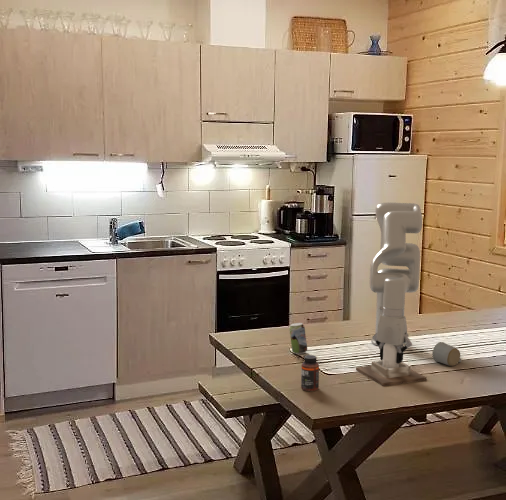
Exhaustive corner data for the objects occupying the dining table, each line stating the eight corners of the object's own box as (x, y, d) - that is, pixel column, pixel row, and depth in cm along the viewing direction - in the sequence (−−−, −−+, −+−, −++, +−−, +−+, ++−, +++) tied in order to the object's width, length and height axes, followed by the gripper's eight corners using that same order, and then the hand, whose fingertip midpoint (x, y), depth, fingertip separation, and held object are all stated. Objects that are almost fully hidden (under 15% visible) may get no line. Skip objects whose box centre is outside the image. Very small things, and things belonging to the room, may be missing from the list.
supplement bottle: (317, 385, 238) (318, 353, 236) (319, 392, 232) (320, 359, 230) (300, 385, 238) (300, 353, 236) (301, 392, 232) (302, 359, 230)
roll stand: (397, 364, 262) (397, 354, 262) (426, 379, 246) (426, 369, 245) (355, 370, 255) (356, 359, 255) (382, 385, 239) (383, 374, 238)
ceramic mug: (448, 368, 259) (449, 348, 258) (431, 362, 266) (432, 343, 265) (466, 364, 265) (468, 344, 264) (449, 358, 272) (451, 339, 270)
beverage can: (306, 356, 271) (307, 326, 269) (287, 354, 273) (288, 325, 271) (308, 351, 277) (309, 322, 276) (290, 350, 279) (290, 321, 277)
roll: (396, 333, 252) (403, 338, 247) (394, 365, 254) (401, 370, 248) (381, 334, 250) (388, 339, 245) (379, 366, 252) (386, 371, 247)
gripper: (366, 310, 249) (364, 358, 252) (411, 318, 239) (408, 368, 242) (376, 306, 255) (374, 353, 258) (420, 313, 245) (417, 363, 248)
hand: (391, 360), depth 250 cm, fingers closed on roll, 5 cm apart
